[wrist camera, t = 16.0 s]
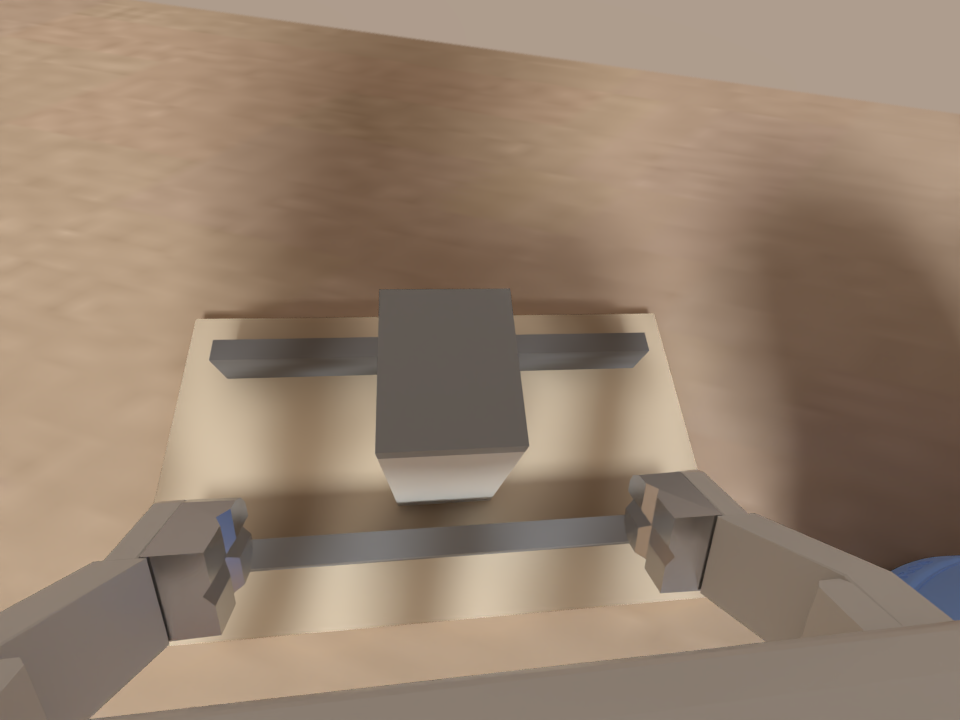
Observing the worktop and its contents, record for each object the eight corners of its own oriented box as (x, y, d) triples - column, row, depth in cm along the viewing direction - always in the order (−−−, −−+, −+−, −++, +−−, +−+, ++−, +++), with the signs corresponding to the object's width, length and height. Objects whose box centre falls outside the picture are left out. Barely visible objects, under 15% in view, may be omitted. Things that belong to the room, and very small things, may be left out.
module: (398, 506, 20) (374, 452, 12) (398, 397, 22) (379, 289, 14) (490, 500, 20) (529, 446, 12) (481, 394, 22) (509, 288, 14)
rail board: (129, 648, 17) (81, 659, 15) (201, 325, 23) (175, 296, 21) (724, 594, 20) (763, 596, 17) (649, 319, 26) (671, 293, 24)
